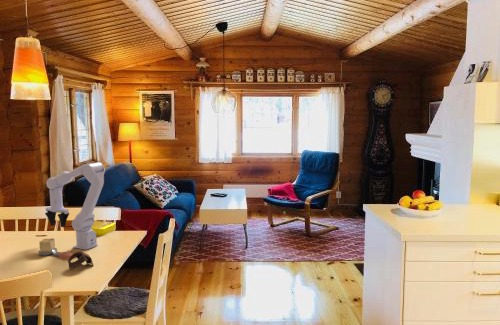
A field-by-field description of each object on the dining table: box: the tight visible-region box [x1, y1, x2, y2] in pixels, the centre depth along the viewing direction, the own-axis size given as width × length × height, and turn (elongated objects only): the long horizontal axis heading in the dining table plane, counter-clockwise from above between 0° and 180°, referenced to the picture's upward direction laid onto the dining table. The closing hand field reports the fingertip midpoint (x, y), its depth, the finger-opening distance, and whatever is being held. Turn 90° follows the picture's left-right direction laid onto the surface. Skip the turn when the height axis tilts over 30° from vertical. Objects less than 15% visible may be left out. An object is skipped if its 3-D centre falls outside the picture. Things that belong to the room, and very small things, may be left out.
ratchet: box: [38, 247, 77, 260], centre depth 192 cm, size 22×8×5 cm, turn 65°
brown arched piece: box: [67, 250, 94, 270], centre depth 177 cm, size 12×10×8 cm
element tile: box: [91, 220, 117, 237], centre depth 232 cm, size 15×15×5 cm
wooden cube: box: [39, 238, 56, 252], centre depth 195 cm, size 5×5×5 cm
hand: (58, 225), depth 210 cm, fingers open, 7 cm apart
